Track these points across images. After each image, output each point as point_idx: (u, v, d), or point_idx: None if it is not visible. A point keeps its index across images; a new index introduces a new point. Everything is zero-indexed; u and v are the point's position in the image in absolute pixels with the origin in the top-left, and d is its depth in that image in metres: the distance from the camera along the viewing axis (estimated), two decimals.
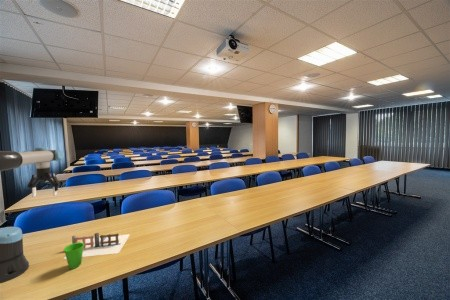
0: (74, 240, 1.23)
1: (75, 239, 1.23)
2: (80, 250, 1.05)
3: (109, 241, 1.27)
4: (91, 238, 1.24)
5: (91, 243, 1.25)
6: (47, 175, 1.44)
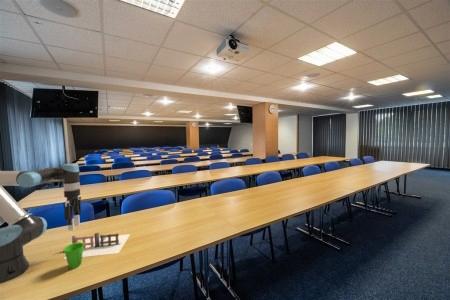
0: (74, 240, 1.23)
1: (75, 239, 1.23)
2: (80, 250, 1.05)
3: (109, 241, 1.27)
4: (91, 238, 1.24)
5: (91, 243, 1.25)
6: None
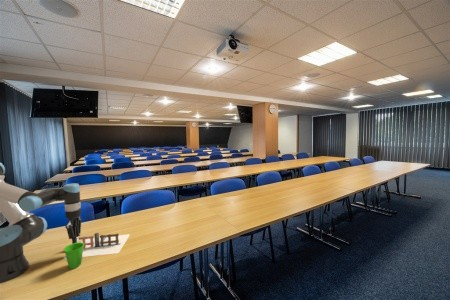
0: None
1: None
2: (80, 250, 1.05)
3: (109, 241, 1.27)
4: (91, 238, 1.24)
5: (91, 243, 1.25)
6: None
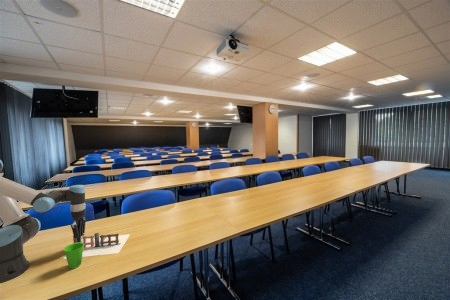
0: (75, 240, 1.24)
1: (76, 238, 1.24)
2: (80, 250, 1.05)
3: (109, 241, 1.27)
4: (91, 238, 1.25)
5: (91, 243, 1.25)
6: None
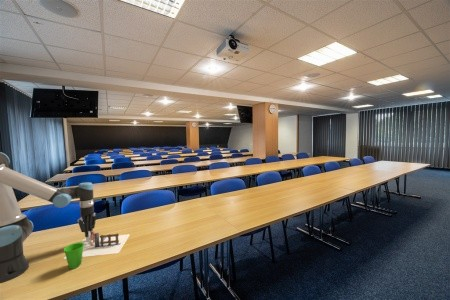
0: None
1: None
2: (80, 250, 1.05)
3: (109, 241, 1.27)
4: (94, 236, 1.27)
5: (94, 241, 1.27)
6: None
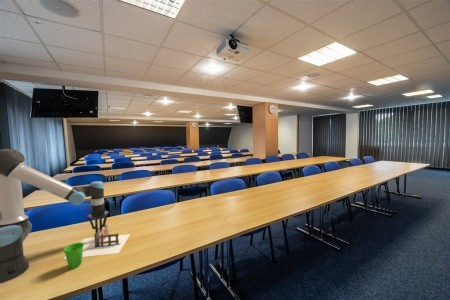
0: None
1: None
2: (80, 250, 1.05)
3: (109, 241, 1.27)
4: None
5: None
6: None
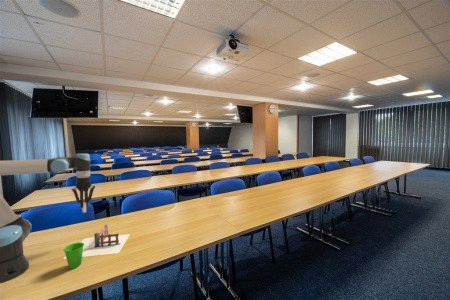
0: None
1: None
2: (80, 250, 1.05)
3: (109, 241, 1.27)
4: None
5: None
6: None
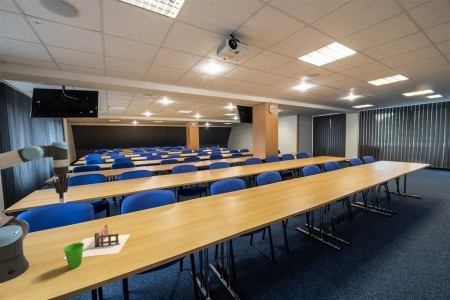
0: None
1: None
2: (80, 250, 1.05)
3: (109, 241, 1.27)
4: None
5: None
6: None
